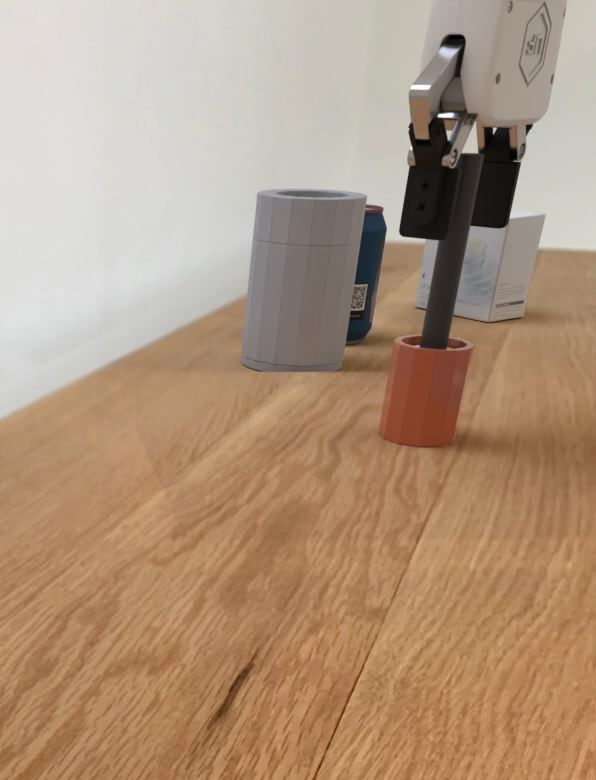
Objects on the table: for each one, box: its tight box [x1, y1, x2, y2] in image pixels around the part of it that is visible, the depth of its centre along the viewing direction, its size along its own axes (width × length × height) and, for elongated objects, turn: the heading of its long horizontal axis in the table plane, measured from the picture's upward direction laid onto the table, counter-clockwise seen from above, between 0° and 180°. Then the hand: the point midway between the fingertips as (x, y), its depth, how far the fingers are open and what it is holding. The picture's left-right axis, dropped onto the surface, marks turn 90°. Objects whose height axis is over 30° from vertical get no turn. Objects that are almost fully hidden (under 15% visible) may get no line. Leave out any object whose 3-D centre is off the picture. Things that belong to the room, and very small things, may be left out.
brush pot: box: [378, 334, 476, 448], centre depth 78 cm, size 5×5×7 cm
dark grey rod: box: [416, 152, 484, 349], centre depth 75 cm, size 3×3×18 cm
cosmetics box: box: [414, 208, 547, 323], centre depth 121 cm, size 10×6×10 cm, turn 33°
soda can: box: [345, 203, 388, 345], centre depth 108 cm, size 7×7×12 cm
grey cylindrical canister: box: [241, 188, 368, 373], centre depth 97 cm, size 9×9×14 cm
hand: (454, 230), depth 73 cm, fingers open, 8 cm apart
